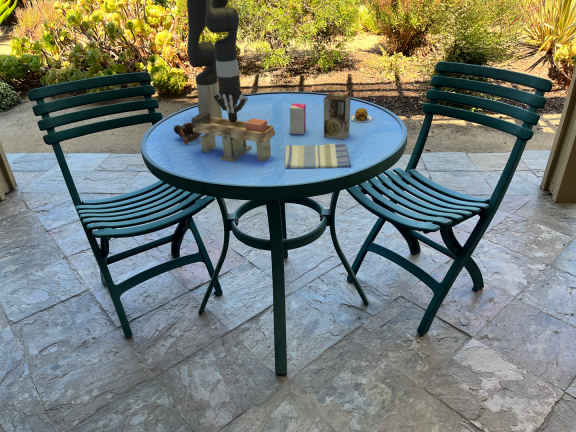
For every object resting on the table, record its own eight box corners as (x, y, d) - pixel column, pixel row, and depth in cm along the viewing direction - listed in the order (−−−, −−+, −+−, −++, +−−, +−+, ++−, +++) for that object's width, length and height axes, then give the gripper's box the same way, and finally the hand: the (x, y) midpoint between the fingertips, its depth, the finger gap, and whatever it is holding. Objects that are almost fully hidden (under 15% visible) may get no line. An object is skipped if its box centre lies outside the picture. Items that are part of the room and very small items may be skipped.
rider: (246, 133, 149) (245, 123, 146) (252, 128, 152) (252, 118, 150) (261, 136, 146) (260, 125, 144) (267, 131, 150) (266, 120, 148)
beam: (193, 131, 156) (191, 118, 153) (205, 124, 162) (203, 111, 159) (265, 143, 145) (264, 128, 142) (275, 134, 151) (274, 120, 148)
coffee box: (349, 134, 170) (351, 94, 161) (344, 140, 165) (346, 99, 156) (328, 131, 173) (329, 92, 165) (323, 137, 168) (323, 97, 160)
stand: (197, 155, 158) (192, 130, 153) (215, 142, 168) (212, 118, 162) (259, 166, 148) (256, 140, 143) (274, 151, 158) (273, 126, 153)
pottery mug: (205, 136, 176) (204, 123, 168) (197, 153, 171) (196, 141, 164) (178, 128, 176) (175, 115, 168) (169, 145, 171) (167, 132, 164)
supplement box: (304, 135, 171) (303, 108, 164) (289, 135, 172) (288, 107, 165) (306, 130, 175) (305, 103, 169) (292, 129, 176) (291, 103, 170)
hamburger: (380, 121, 182) (382, 109, 179) (358, 127, 177) (359, 115, 174) (363, 114, 191) (364, 102, 188) (342, 119, 186) (342, 107, 183)
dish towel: (285, 150, 161) (285, 143, 159) (347, 148, 160) (347, 142, 158) (283, 170, 146) (283, 163, 145) (351, 169, 145) (351, 162, 143)
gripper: (205, 74, 141) (212, 123, 151) (239, 77, 136) (244, 128, 146) (217, 68, 147) (223, 116, 156) (250, 71, 142) (254, 120, 152)
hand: (233, 122), depth 151 cm, fingers closed
